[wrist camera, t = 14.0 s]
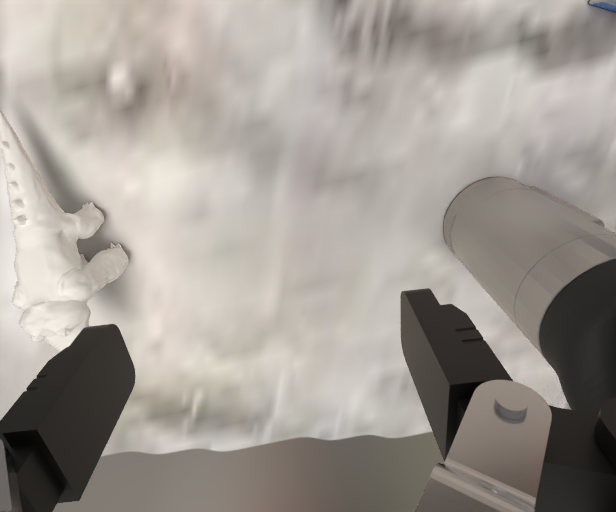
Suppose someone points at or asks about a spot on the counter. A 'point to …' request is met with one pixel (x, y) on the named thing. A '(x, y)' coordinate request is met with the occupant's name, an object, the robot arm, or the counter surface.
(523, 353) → the counter surface
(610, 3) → the medicine box
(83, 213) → the white dinosaur figurine
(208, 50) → the counter surface
